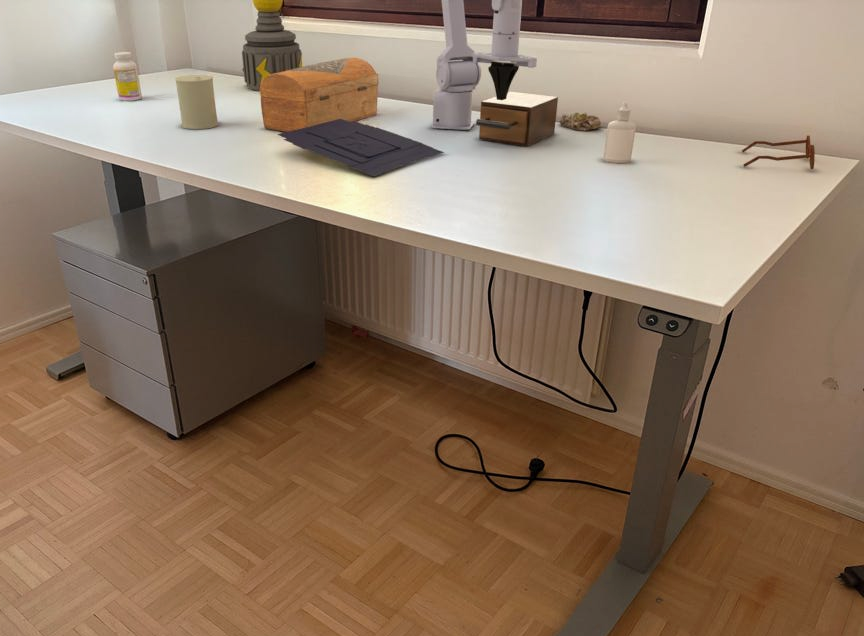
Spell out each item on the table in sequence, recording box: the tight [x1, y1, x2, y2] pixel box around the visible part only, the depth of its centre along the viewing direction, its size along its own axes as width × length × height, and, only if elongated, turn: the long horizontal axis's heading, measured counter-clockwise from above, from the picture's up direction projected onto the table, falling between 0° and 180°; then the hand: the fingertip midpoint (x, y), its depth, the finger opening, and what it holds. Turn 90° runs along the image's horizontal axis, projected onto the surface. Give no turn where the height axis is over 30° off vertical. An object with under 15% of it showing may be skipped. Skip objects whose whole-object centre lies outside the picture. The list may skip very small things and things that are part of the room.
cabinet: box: [478, 91, 559, 147], centre depth 175 cm, size 15×13×9 cm
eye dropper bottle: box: [602, 101, 637, 164], centre depth 155 cm, size 4×6×12 cm
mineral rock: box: [559, 112, 602, 132], centre depth 185 cm, size 11×4×8 cm
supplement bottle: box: [112, 51, 143, 102], centre depth 218 cm, size 7×7×13 cm
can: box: [174, 74, 219, 130], centre depth 187 cm, size 9×9×12 cm
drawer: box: [475, 105, 528, 143], centre depth 172 cm, size 18×11×7 cm, turn 145°
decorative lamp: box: [241, 0, 303, 92], centre depth 230 cm, size 19×19×30 cm
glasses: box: [741, 135, 816, 170], centre depth 155 cm, size 13×13×5 cm
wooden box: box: [259, 57, 379, 133], centre depth 190 cm, size 30×16×14 cm, turn 145°
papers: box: [276, 119, 445, 177], centre depth 163 cm, size 24×30×4 cm
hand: (501, 99), depth 166 cm, fingers closed
